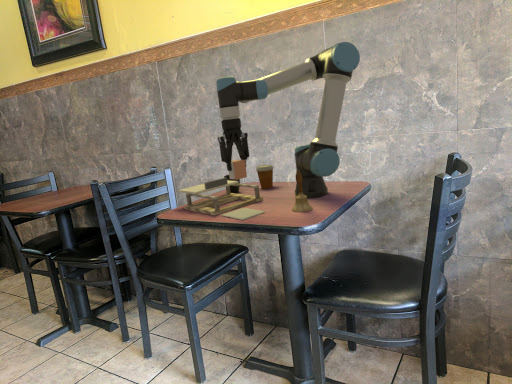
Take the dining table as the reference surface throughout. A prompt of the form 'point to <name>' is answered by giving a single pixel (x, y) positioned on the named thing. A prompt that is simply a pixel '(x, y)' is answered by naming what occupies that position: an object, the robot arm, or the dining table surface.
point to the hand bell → (301, 197)
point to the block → (239, 169)
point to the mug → (233, 188)
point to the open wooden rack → (222, 201)
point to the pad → (243, 213)
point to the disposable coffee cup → (265, 176)
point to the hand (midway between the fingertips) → (238, 177)
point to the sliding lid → (208, 186)
